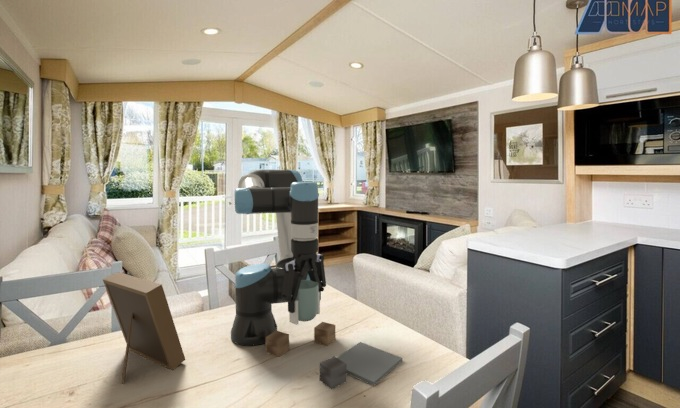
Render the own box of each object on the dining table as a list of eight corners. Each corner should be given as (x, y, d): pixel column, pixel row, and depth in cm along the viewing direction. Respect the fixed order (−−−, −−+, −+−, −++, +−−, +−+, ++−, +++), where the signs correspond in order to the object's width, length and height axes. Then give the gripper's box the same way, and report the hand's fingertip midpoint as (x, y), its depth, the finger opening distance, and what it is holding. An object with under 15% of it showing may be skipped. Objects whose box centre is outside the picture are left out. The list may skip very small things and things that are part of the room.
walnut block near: (265, 352, 105) (265, 337, 105) (276, 345, 110) (276, 330, 109) (278, 357, 103) (278, 341, 102) (289, 349, 107) (288, 334, 107)
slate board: (329, 365, 98) (329, 362, 98) (360, 344, 110) (360, 341, 110) (373, 385, 89) (373, 382, 89) (402, 361, 101) (402, 357, 100)
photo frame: (142, 343, 110) (137, 267, 108) (185, 362, 99) (180, 278, 97) (89, 366, 98) (82, 280, 95) (132, 391, 87) (125, 295, 84)
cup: (314, 326, 93) (314, 290, 92) (287, 323, 95) (286, 287, 94) (321, 314, 101) (321, 280, 100) (296, 311, 102) (295, 278, 101)
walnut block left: (314, 342, 112) (314, 327, 111) (322, 336, 116) (322, 321, 116) (327, 346, 109) (327, 331, 109) (335, 339, 114) (335, 324, 113)
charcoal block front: (319, 380, 91) (319, 362, 91) (334, 373, 94) (334, 356, 94) (331, 389, 87) (331, 371, 87) (346, 382, 91) (346, 363, 90)
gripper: (285, 246, 85) (286, 335, 87) (339, 234, 101) (338, 309, 103) (265, 242, 89) (267, 326, 92) (319, 231, 106) (320, 303, 108)
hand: (305, 317), depth 98 cm, fingers closed on cup, 8 cm apart
